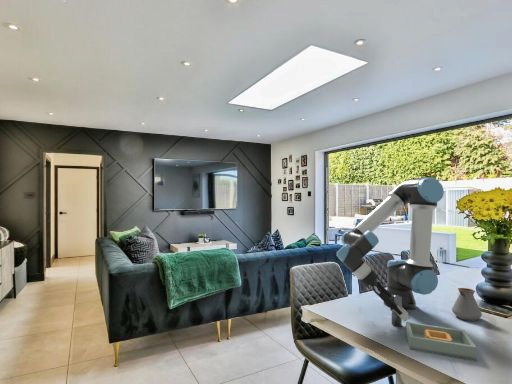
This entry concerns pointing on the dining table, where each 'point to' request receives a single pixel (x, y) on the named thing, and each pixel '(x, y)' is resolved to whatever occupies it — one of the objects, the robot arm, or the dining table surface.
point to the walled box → (440, 341)
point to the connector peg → (395, 318)
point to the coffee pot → (466, 305)
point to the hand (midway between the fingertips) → (406, 317)
